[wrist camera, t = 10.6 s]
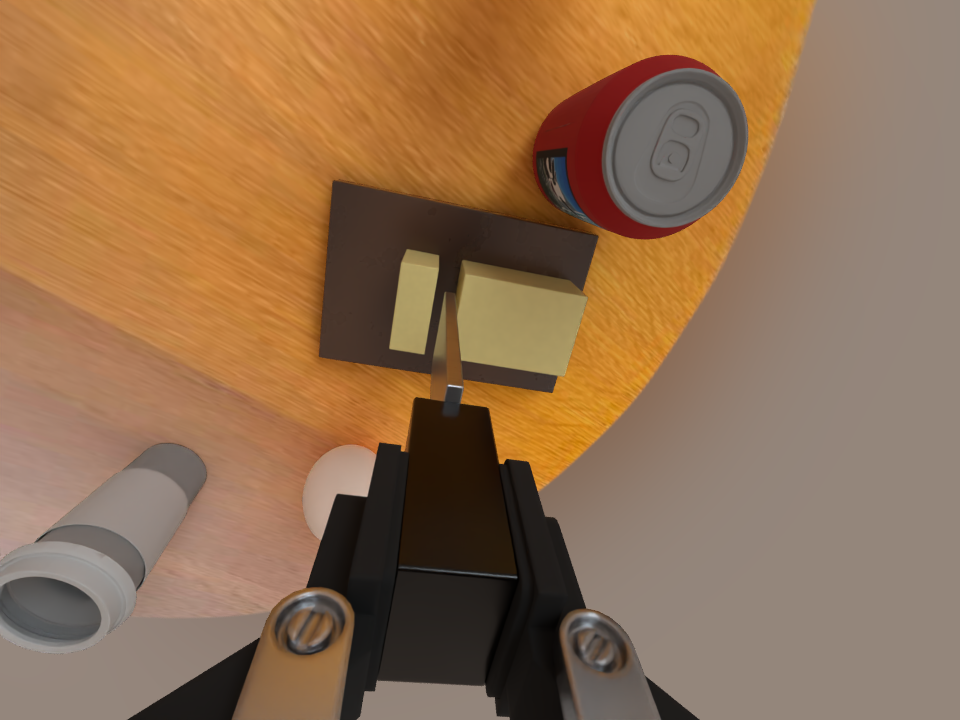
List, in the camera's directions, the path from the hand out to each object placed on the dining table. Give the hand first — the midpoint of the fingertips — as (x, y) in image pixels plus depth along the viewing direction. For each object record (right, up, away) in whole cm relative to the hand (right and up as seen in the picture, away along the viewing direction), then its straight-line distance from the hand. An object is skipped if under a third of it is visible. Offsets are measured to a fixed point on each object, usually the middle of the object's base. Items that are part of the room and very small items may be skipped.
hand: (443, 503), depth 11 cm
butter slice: (-3, +8, +17) cm, 19 cm away
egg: (-9, -4, +24) cm, 25 cm away
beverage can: (+7, +16, +17) cm, 24 cm away
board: (-1, +8, +19) cm, 21 cm away
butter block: (+3, +7, +18) cm, 20 cm away
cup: (-22, -5, +23) cm, 32 cm away
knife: (-1, +5, +12) cm, 13 cm away
